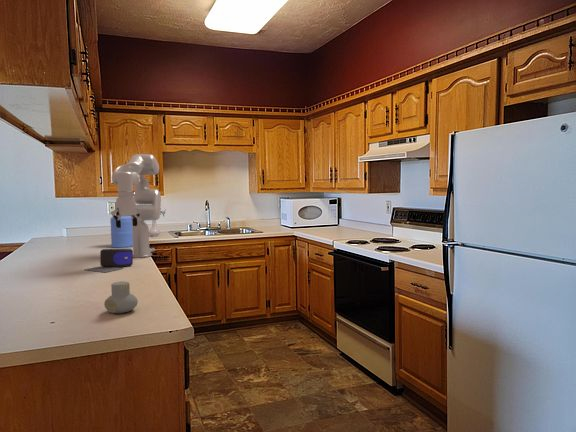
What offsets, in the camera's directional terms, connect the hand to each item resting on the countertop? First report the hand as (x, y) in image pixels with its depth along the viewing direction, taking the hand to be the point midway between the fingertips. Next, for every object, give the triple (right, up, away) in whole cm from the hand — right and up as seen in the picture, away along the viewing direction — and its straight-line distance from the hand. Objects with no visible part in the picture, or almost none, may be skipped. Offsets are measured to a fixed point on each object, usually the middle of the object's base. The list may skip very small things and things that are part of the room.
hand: (126, 226), depth 236 cm
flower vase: (-27, -12, +140) cm, 143 cm away
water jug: (-31, -16, +78) cm, 86 cm away
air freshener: (+29, -28, -83) cm, 92 cm away
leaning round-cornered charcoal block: (-6, -22, 0) cm, 22 cm away
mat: (-10, -22, -7) cm, 25 cm away
